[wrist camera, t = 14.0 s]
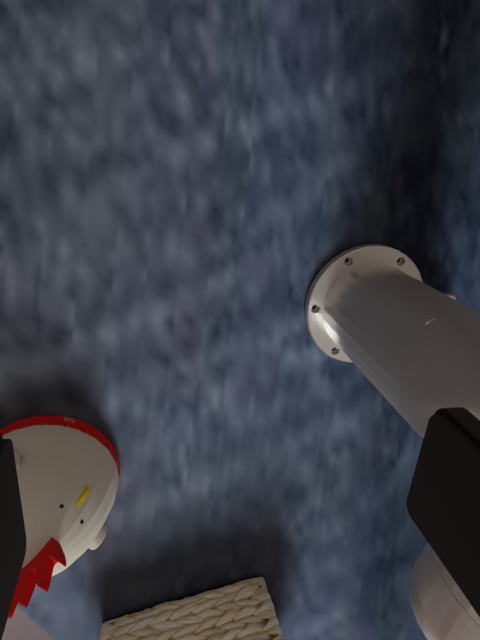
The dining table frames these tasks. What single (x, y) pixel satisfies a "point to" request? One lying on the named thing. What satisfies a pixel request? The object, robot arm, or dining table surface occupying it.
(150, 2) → the dining table surface
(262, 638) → the storage basket
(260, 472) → the dining table surface
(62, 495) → the kitchen timer
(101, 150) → the dining table surface
